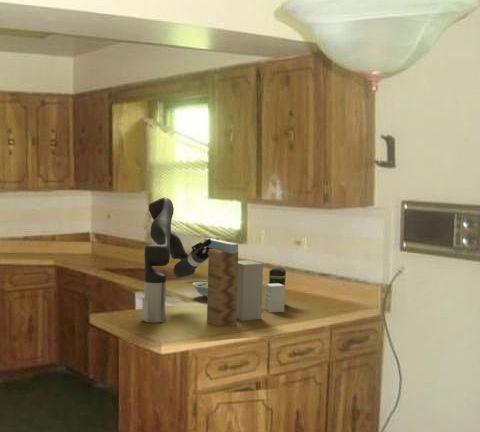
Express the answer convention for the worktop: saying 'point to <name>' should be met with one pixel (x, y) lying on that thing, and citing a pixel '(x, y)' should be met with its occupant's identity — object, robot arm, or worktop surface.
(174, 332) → the worktop surface
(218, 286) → the walnut stand
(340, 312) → the worktop surface
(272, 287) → the supplement box
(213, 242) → the blue bar
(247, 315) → the grey step
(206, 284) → the ramen bowl
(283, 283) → the coffee jar
